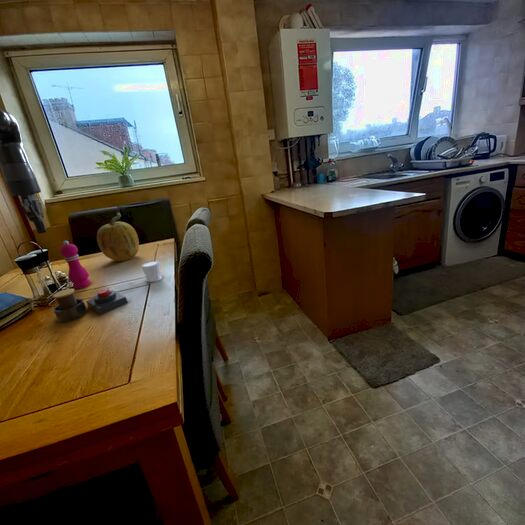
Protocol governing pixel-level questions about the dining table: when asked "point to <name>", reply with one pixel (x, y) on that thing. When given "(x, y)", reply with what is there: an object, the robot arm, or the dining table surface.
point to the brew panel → (106, 302)
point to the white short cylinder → (152, 271)
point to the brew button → (103, 293)
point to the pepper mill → (74, 266)
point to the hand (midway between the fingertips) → (42, 232)
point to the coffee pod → (66, 299)
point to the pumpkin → (118, 240)
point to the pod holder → (70, 312)
